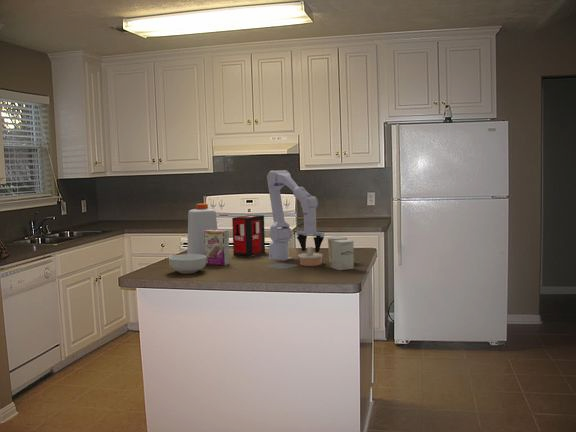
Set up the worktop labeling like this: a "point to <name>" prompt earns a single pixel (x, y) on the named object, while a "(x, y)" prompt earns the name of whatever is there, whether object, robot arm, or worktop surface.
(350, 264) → the supplement box
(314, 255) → the lid
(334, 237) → the coffee cup
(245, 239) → the cleaning product box
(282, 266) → the mat
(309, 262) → the ramekin
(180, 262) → the cereal bowl
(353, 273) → the worktop surface
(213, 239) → the candy bar box
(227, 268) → the worktop surface
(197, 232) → the plastic bottle
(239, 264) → the worktop surface
